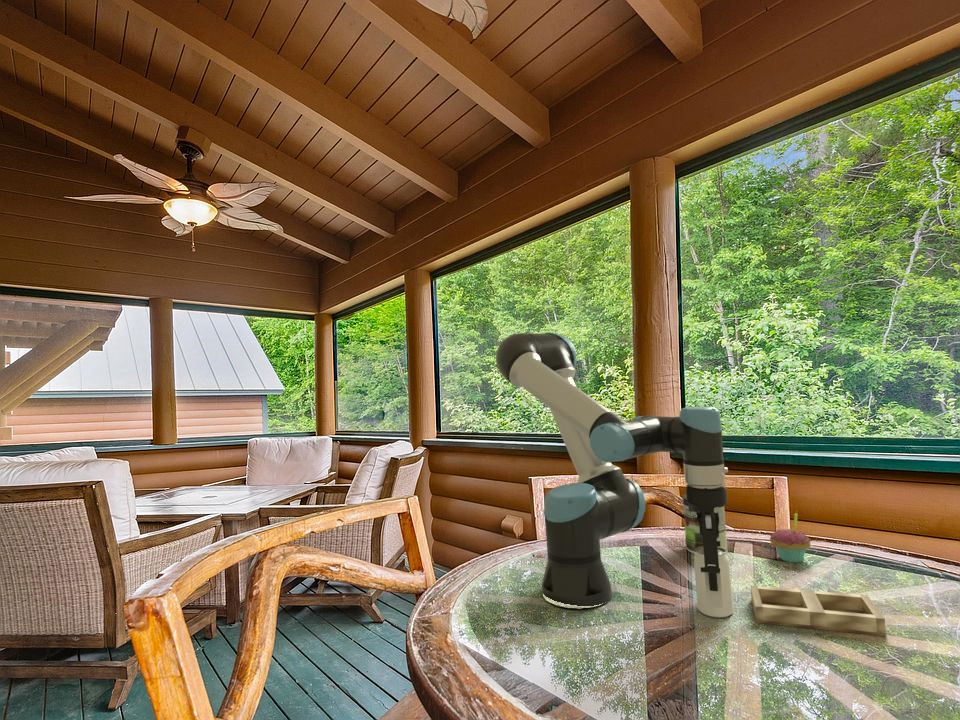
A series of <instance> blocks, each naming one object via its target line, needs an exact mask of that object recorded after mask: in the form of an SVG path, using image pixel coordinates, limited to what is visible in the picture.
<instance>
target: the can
mask: <svg viewBox="0 0 960 720" xmlns="http://www.w3.org/2000/svg"><path fill="white" fill-rule="evenodd" d="M717 548H718V560H719V568H720V576H721V589H722V601H723V608H717V607H707V598H706V585H705V572H701V567H703V568H704V567H705V563H704V549H703V546H700V547H697V548H696V549H695V550H696V553H695V554H693V563H694V564H693V566H694V567H693V568H694V578H695V593H696V601H697V602H696V603H697V609H698V611H699V612H700V613H701V614H702V615H704V616H706V617H709V618H715V619H724V618H728V617H730V616H731V615H732V614H733V613H734V604H733V603H734V601H733V591H732V579H731V577H732V576H731V567H730V559H729V557H728V554H727V553H726V550H724V549H723V548H720V547H717ZM708 566H716V565H710V564H709V565H708Z"/></svg>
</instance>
